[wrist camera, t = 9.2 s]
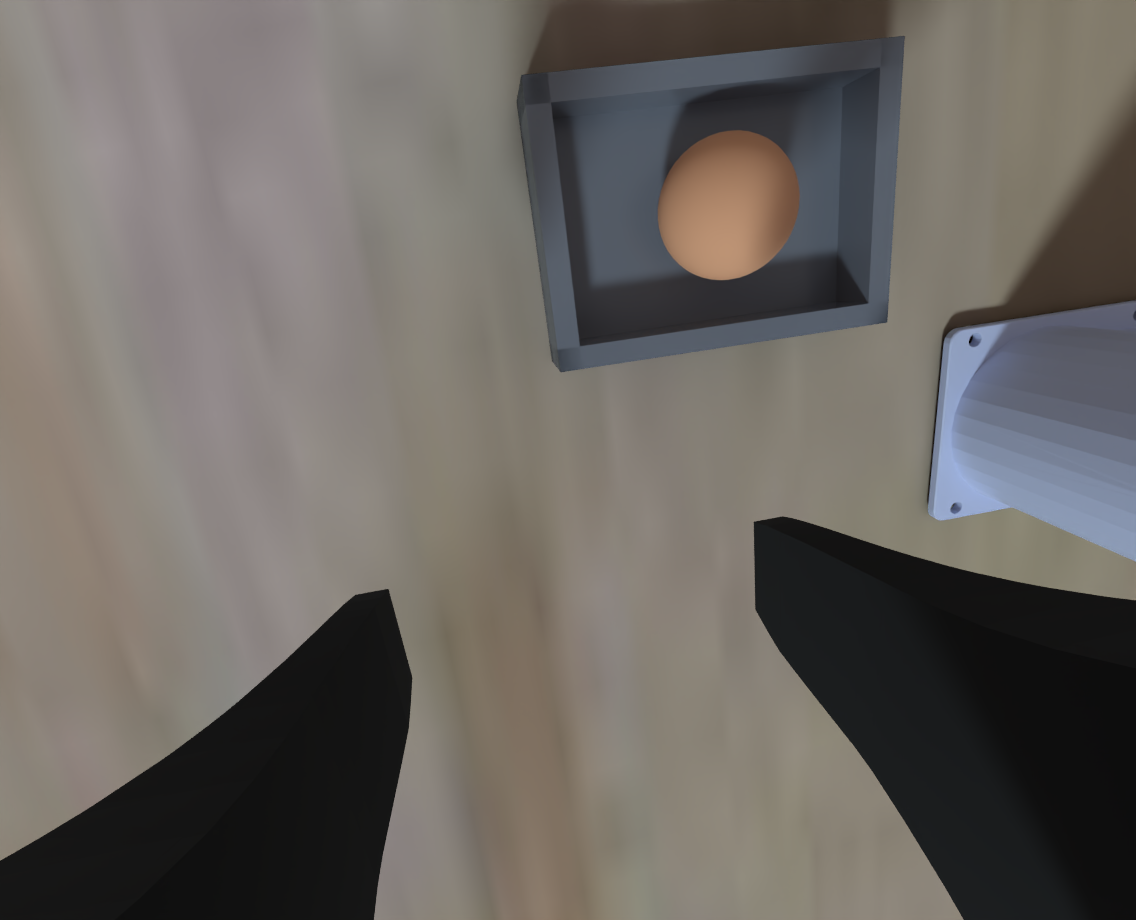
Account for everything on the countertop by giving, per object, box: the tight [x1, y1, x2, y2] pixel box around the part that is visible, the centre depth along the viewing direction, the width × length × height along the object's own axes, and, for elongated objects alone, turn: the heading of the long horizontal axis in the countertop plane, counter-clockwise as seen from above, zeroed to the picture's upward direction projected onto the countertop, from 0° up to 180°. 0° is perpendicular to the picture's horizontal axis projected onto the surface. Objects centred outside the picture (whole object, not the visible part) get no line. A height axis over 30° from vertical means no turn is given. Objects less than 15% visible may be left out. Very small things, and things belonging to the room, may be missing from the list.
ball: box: [658, 130, 800, 280], centre depth 16 cm, size 4×4×4 cm
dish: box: [517, 36, 905, 372], centre depth 18 cm, size 11×8×2 cm
